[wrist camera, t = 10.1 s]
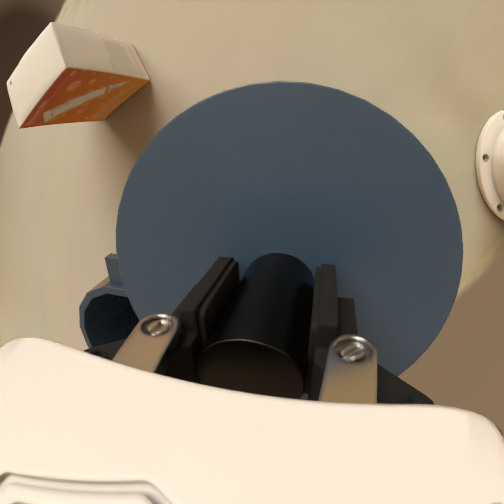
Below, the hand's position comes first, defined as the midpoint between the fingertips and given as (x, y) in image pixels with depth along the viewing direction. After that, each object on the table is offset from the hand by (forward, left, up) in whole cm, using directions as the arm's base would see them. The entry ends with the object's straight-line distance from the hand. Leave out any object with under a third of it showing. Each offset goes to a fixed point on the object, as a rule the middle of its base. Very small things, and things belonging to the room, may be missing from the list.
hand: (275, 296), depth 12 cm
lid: (0, 0, -2) cm, 2 cm away
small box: (+21, -14, -19) cm, 31 cm away
